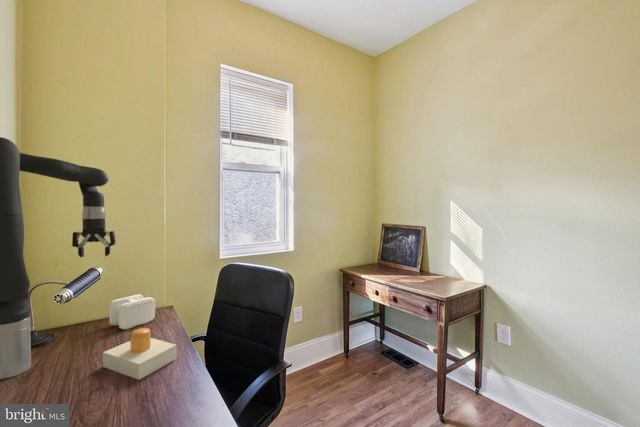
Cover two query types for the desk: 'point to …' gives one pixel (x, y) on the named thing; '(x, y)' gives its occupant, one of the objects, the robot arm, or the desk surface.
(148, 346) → the orange lidded jar
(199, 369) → the desk surface
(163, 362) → the box
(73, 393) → the desk surface
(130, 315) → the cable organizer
